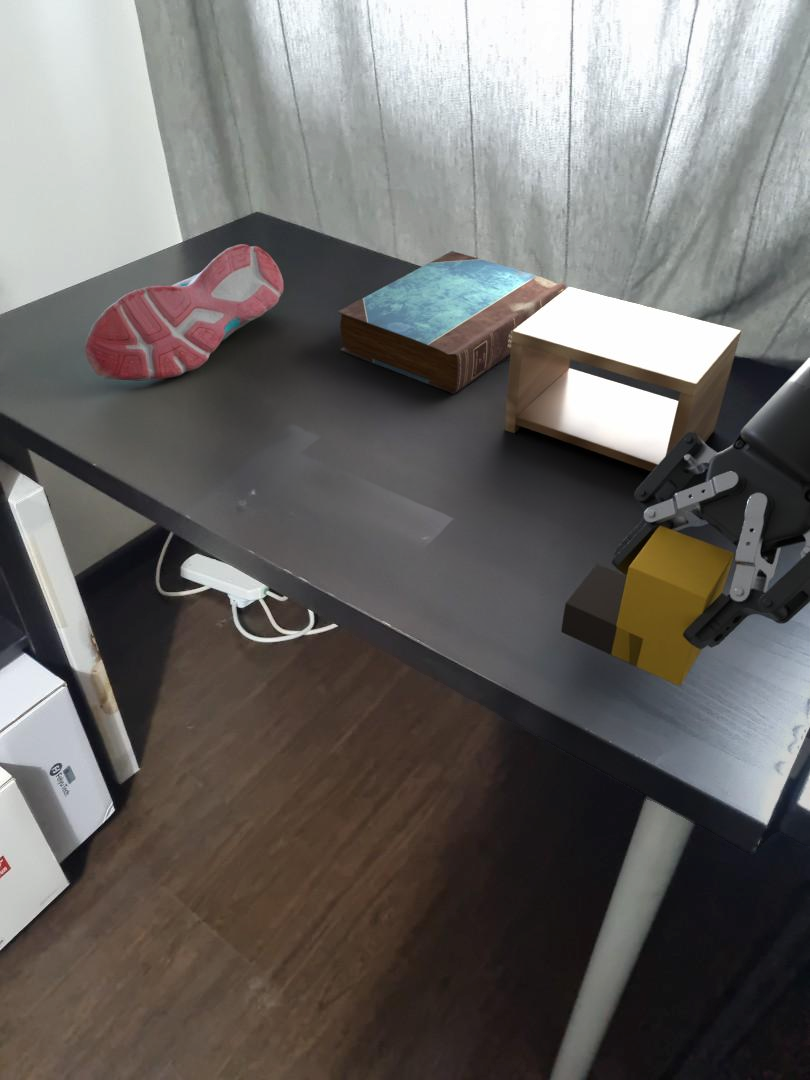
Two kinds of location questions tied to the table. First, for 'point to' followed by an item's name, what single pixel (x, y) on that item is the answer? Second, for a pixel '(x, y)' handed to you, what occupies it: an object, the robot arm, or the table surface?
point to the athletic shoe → (183, 317)
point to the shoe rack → (625, 348)
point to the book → (445, 319)
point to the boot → (650, 603)
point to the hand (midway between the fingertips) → (654, 604)
